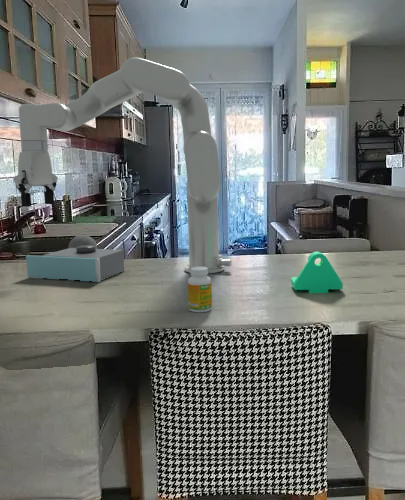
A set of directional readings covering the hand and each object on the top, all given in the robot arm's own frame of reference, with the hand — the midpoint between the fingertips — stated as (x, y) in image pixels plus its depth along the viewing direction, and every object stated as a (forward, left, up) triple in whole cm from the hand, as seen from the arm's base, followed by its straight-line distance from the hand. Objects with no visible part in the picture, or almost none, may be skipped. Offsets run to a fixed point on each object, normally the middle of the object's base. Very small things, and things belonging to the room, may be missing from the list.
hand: (38, 205), depth 145 cm
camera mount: (-82, -8, -23) cm, 85 cm away
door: (-9, +2, -22) cm, 24 cm away
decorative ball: (+1, -22, -22) cm, 31 cm away
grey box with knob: (-11, -6, -22) cm, 25 cm away
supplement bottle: (-60, +18, -22) cm, 67 cm away
